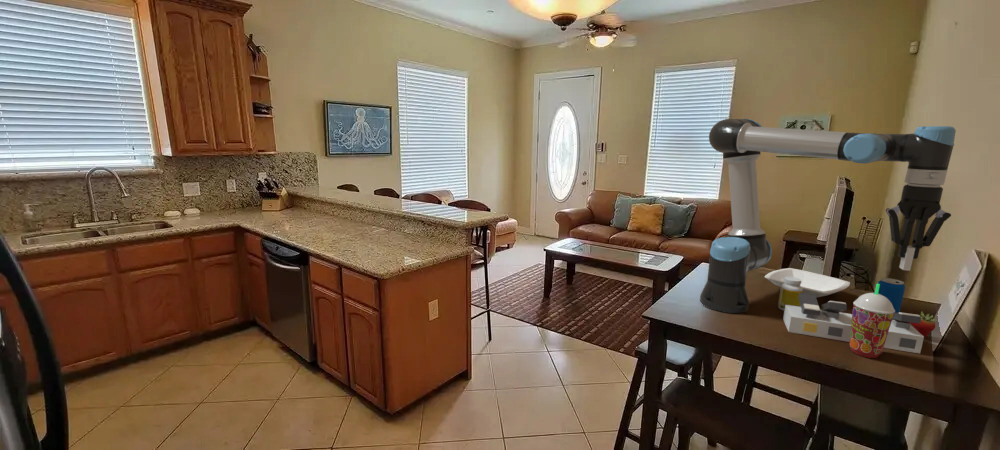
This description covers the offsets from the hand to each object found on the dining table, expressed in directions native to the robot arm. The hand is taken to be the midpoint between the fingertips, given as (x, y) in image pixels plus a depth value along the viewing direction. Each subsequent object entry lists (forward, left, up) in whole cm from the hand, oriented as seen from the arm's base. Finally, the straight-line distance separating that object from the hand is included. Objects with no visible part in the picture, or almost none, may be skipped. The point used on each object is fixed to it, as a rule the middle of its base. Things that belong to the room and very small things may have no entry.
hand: (904, 268), depth 116 cm
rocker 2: (-15, -2, -14) cm, 20 cm away
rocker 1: (-21, -2, -14) cm, 25 cm away
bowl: (-15, +33, -22) cm, 43 cm away
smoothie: (-9, -13, -22) cm, 27 cm away
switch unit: (-11, -2, -22) cm, 24 cm away
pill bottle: (-23, +13, -22) cm, 34 cm away
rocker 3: (+1, -2, -14) cm, 14 cm away
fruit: (+8, +5, -22) cm, 24 cm away
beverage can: (+5, +21, -22) cm, 31 cm away
